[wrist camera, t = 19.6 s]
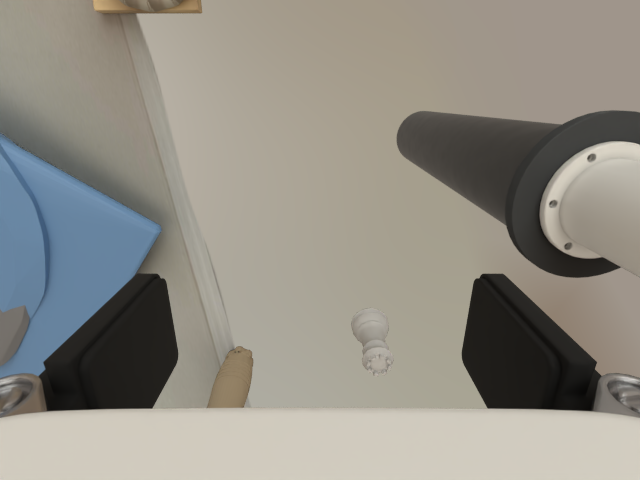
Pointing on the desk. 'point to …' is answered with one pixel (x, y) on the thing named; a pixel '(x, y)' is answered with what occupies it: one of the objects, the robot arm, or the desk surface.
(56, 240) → the blue island diorama
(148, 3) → the segmented ring
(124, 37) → the desk surface
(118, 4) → the post
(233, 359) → the handle
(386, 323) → the rook chess piece
